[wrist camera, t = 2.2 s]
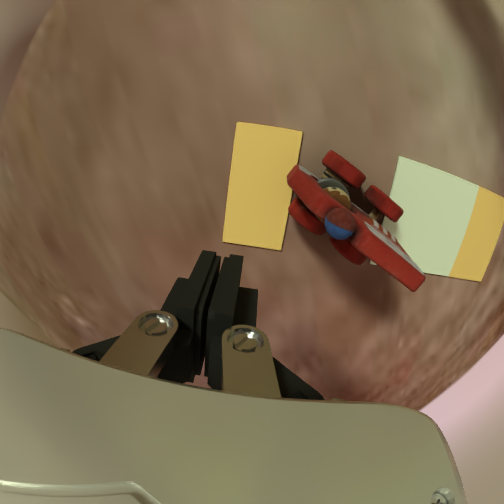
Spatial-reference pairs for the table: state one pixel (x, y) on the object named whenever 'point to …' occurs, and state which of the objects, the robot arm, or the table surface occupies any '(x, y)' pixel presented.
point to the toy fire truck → (351, 218)
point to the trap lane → (404, 230)
